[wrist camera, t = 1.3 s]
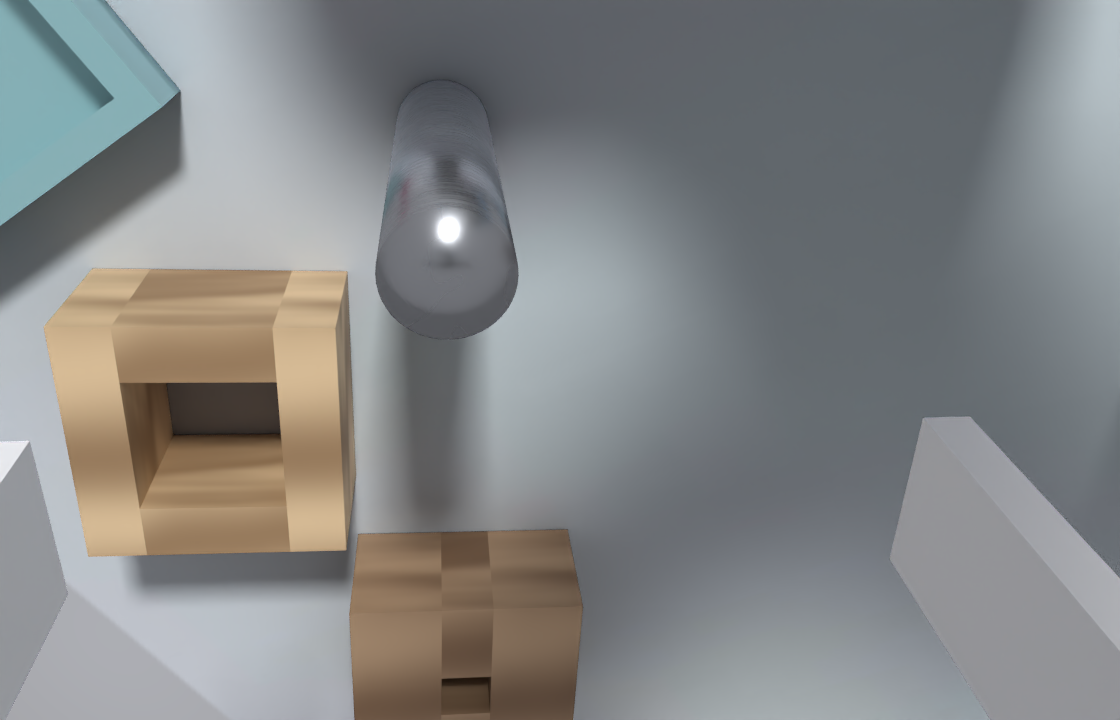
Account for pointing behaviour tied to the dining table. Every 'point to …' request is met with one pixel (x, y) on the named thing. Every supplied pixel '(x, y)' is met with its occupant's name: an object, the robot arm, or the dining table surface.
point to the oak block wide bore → (206, 460)
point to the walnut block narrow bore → (465, 626)
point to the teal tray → (67, 91)
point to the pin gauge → (445, 218)
